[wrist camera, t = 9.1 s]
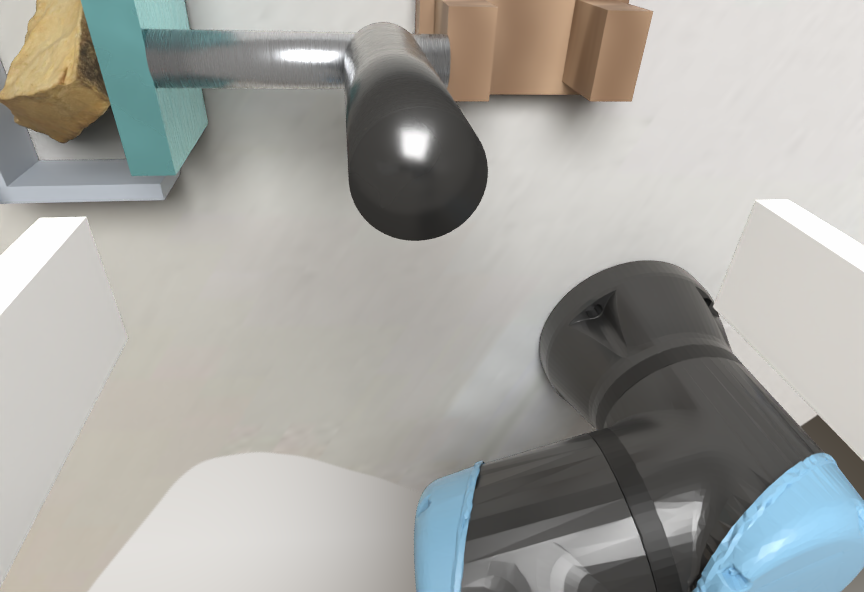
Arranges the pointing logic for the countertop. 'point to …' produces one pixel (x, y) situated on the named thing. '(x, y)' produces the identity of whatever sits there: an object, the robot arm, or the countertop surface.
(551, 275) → the countertop surface
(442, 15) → the rod stand
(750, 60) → the countertop surface
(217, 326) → the countertop surface
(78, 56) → the rock
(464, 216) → the lever handle
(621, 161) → the countertop surface
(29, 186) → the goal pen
